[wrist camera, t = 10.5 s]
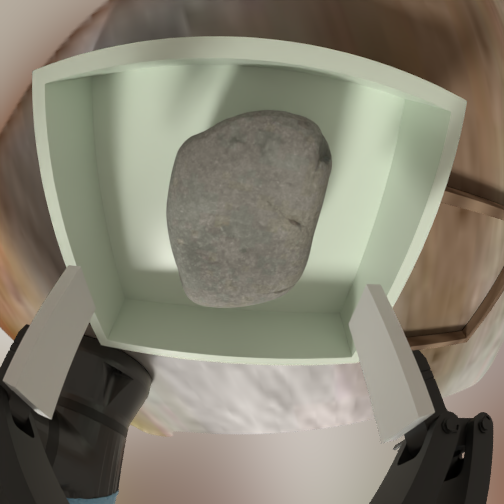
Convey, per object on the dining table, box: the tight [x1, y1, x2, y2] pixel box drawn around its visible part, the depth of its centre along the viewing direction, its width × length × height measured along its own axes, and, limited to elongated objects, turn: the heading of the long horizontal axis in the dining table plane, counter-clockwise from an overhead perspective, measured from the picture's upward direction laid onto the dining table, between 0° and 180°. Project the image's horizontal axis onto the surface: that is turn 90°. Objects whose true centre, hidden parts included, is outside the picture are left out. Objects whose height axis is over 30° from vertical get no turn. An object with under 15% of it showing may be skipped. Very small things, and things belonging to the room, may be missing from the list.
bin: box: [32, 36, 467, 365], centre depth 17 cm, size 22×21×6 cm
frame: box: [406, 186, 504, 350], centre depth 23 cm, size 22×20×2 cm
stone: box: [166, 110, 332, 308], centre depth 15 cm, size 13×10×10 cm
